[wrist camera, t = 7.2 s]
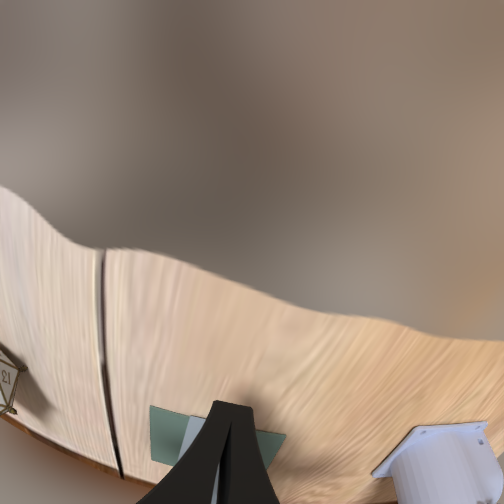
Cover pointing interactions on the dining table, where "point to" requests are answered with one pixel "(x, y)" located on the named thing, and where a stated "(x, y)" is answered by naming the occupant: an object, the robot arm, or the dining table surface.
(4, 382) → the game die
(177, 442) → the felt mat
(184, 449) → the slate-blue block
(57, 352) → the dining table surface
